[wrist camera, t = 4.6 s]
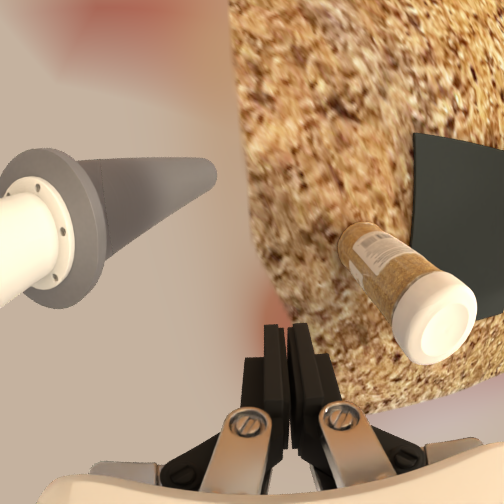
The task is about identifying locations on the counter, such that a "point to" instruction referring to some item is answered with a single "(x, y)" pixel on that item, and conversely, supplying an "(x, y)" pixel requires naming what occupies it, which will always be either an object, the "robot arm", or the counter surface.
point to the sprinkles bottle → (409, 293)
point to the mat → (461, 214)
